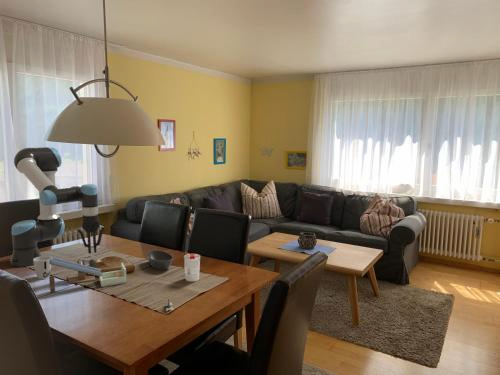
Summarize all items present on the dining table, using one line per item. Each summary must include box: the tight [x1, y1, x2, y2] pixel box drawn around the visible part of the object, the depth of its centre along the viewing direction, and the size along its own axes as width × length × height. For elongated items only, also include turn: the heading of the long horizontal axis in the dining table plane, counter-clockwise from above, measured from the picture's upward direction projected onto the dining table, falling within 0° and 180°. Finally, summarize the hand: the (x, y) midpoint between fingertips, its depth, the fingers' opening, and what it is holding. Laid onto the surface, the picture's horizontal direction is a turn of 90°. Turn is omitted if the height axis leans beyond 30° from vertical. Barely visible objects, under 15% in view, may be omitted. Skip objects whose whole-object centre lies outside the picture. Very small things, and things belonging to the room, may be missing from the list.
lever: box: [49, 256, 103, 277], centre depth 181 cm, size 18×24×4 cm
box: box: [98, 262, 127, 288], centre depth 183 cm, size 10×12×7 cm
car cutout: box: [164, 298, 174, 312], centre depth 152 cm, size 15×7×4 cm, turn 20°
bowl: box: [145, 249, 174, 271], centre depth 206 cm, size 12×22×6 cm, turn 39°
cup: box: [33, 255, 52, 280], centre depth 187 cm, size 8×8×10 cm
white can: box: [183, 253, 201, 283], centre depth 187 cm, size 10×8×12 cm
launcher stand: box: [48, 259, 96, 294], centre depth 181 cm, size 18×20×10 cm
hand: (92, 258), depth 192 cm, fingers closed
